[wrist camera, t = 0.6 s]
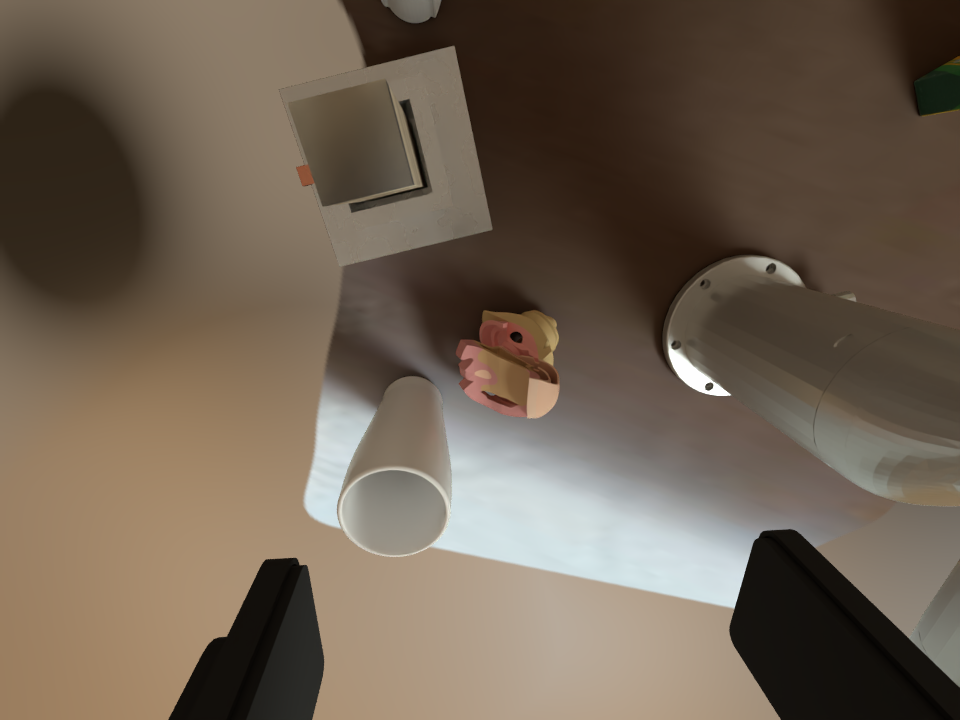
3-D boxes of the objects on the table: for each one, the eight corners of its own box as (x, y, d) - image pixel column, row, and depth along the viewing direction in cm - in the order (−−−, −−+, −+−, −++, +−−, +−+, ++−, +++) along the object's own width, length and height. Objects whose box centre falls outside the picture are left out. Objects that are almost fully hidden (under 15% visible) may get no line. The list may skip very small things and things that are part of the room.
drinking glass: (362, 380, 39) (314, 487, 25) (435, 355, 38) (427, 449, 25) (392, 443, 41) (364, 572, 27) (461, 420, 41) (468, 539, 27)
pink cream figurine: (513, 268, 37) (610, 323, 32) (514, 348, 44) (592, 403, 40) (428, 326, 33) (523, 398, 28) (445, 403, 41) (522, 470, 36)
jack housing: (454, 52, 31) (455, 4, 23) (490, 228, 35) (503, 239, 27) (286, 94, 31) (230, 60, 23) (343, 263, 35) (313, 285, 27)
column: (412, 125, 31) (385, 76, 18) (428, 187, 32) (414, 185, 19) (354, 139, 31) (285, 101, 18) (373, 201, 32) (321, 208, 19)
